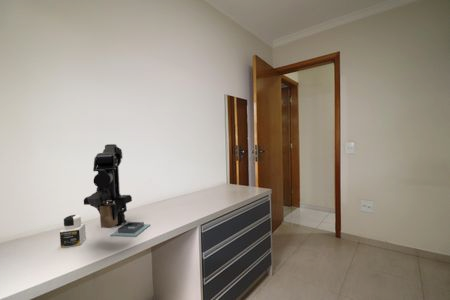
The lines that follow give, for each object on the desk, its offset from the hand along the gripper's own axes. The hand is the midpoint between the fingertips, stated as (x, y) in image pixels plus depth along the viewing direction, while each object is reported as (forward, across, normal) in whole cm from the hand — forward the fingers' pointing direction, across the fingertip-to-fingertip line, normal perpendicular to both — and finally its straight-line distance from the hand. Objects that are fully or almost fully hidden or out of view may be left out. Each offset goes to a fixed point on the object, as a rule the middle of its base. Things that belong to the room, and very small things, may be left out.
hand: (109, 219), depth 88 cm
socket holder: (+11, 0, +14) cm, 18 cm away
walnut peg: (+3, 0, 0) cm, 3 cm away
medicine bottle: (+11, -18, 0) cm, 21 cm away
